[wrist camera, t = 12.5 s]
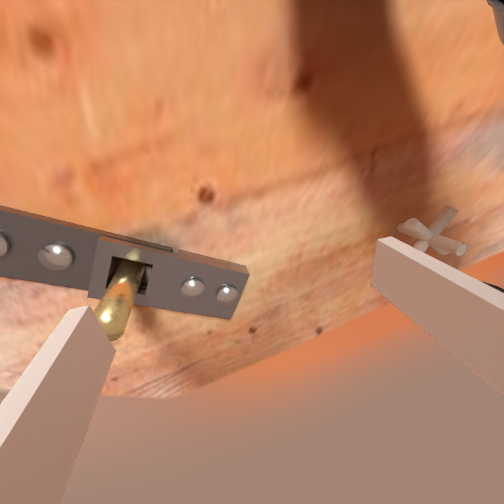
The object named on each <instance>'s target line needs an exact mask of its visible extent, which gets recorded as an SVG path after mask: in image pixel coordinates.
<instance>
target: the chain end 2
mask: <svg viewBox="0 0 504 504" xmlns="http://www.w3.org/2000/svg"><path fill="white" fill-rule="evenodd" d="M114 256H115V257H119V258H124V259H129V260H133V261H138V262H143V263H147V264H152V265H153V267H152V271H151V274H150V278H149V282H148V285H147V289H146V290H143V289H138V291H137V294H136V297H135V300H134V303H133V304H135V305H141V306H148V307H154V308H161V309H168V310H174V311H181V312H188V313H194V314H201V315H207V316H214V317H221V318H227V319H231V317H232V315H233V313H234V310H235V308H236V306H237V303H238V301H239V298H240V296H241V294H242V291H243V289H244V287H245V284H246V282H247V280H248V277H249V275H250V274H249V272H248V270H247V268H246V266H244V265H240V264H236V263H232V262H228V261H224V260H220V259H216V258H211V257H207V256H203V255H199V254H195V253H191V252H187V251H183V250H179V252H178V254H177V253H172V252H168V251H164V250H160V249H156V248H152V247H147V246H143V245H139V244H135V243H131V242H126V241H122V240H118V239H114V238H110V237H106V236H100V238H99V239H98V242H97V247H96V253H95V258H94V264H93V269H92V275H91V280H90V286H89V291H88V298H95V299H102V297H103V295H104V293H105V291H106V290H107V288H108V286H109V283H108V282H109V277H110V272H111V268H112V263H113V258H114Z"/></svg>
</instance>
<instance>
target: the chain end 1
mask: <svg viewBox="0 0 504 504" xmlns="http://www.w3.org/2000/svg"><path fill="white" fill-rule="evenodd" d="M100 236H106V237H110V238H114V239H118V240H122V241H126V242H131V243H135V244H139V245H143V246H147V247H152V248H156V249H160V250H164V251H168V252H171V250H172V248H171V247H167V246H163V245H159V244H155V243H151V242H147V241H142V240H138V239H134V238H130V237H126V236H122V235H118V234H114V233H110V232H106V231H102V230H98V229H94V228H90V227H86V226H82V225H78V224H73V223H69V222H65V221H61V220H57V219H53V218H49V217H45V216H41V215H37V214H33V213H29V212H25V211H21V210H17V209H13V208H9V207H4V206H0V276H4V277H10V278H16V279H22V280H29V281H35V282H41V283H47V284H53V285H60V286H66V287H72V288H78V289H84V290H89V286H90V280H91V275H92V269H93V264H94V258H95V253H96V247H97V242H98V239H99V238H100ZM115 259H116V257H115V256H114V258H113V263H112V268H111V272H110V277H109V282H108V283H109V284H110V282H111V281H112V279H113V278H111V277H112V273H113V268H114V263H115ZM147 285H148V284H144V283H140V285H139V288H138V289H143V290H146V289H147Z"/></svg>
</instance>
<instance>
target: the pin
mask: <svg viewBox="0 0 504 504" xmlns="http://www.w3.org/2000/svg"><path fill="white" fill-rule="evenodd" d="M144 271H145V265H144V263H143V262H138V261H133V260H129V259H124V260H123V261H122V263H121V264H120V266H119V268H118V270H117V272H116V273H115V275H114V277H113V279H112V281H111V282H110V284H109V286H108V288H107V290H106V291H105V293H104V295H103V297H102V299H101V300H100V302H99V304H98V306H97V308H96V309H95V311H94V314H95V316H96V317H97V319H98V321H99V323H100V324H101V326H102V328H103V329H104V331H105V333H106V335H107V336H108V338H109V340H110V342H111V341H115V340H117V339H118V338H120V337H121V336H122V335H123V333H124V330H125V327H126V324H127V321H128V318H129V315H130V312H131V309H132V306H133V303H134V300H135V297H136V294H137V291H138V288H139V285H140V282H141V279H142V276H143V273H144Z"/></svg>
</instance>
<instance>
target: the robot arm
mask: <svg viewBox="0 0 504 504" xmlns="http://www.w3.org/2000/svg"><path fill="white" fill-rule="evenodd" d="M487 2H488V4H489V5H490V6H491V7H493V12H494V17H495V21H496V26H497V30H498V35H499V38H500V40H501V42H502V43H503V45H504V0H487ZM371 286H372V287H373V288H374V289H375V290H377V291H378V292H379V293H380V294H381V295H383V296H384V297H385V298H386V299H387V300H389V301H390V302H391V303H392V304H393V305H394V306H396V307H397V308H398V309H399V310H400V311H402V312H403V313H404V314H405V315H406V316H408V317H409V318H410V319H411V320H412V321H414V322H415V323H416V324H417V325H418V326H419V327H421V328H422V329H423V330H424V331H425V332H427V333H428V334H429V335H430V336H431V337H433V338H434V339H435V340H436V341H437V342H439V343H440V344H441V345H442V346H443V347H445V348H446V349H447V350H448V351H449V352H450V353H452V354H453V355H454V356H455V357H457V358H458V359H459V360H460V361H461V362H462V363H463V364H465V365H466V366H467V367H468V368H470V369H471V370H472V371H473V372H474V373H475V374H477V375H478V376H479V377H480V378H481V379H483V380H484V381H485V382H486V383H487V384H489V385H490V386H491V387H492V388H493V389H494V390H496V391H497V392H498V393H499V394H500V395H502V396H503V397H504V289H502V288H500V287H498V286H494V285H491V284H488V283H485V282H482V281H479V280H476V279H475V278H473V277H471V276H469V275H467V274H465V273H463V272H461V271H459V270H457V269H455V268H453V267H451V266H449V265H447V264H445V263H443V262H441V261H439V260H437V259H435V258H433V257H431V256H429V255H427V254H425V253H423V252H421V251H419V250H417V249H415V248H413V247H411V246H409V245H407V244H405V243H403V242H401V241H399V240H397V239H395V238H393V237H391V236H390V237H386V238H381V239H377V243H376V251H375V258H374V265H373V273H372V280H371ZM115 352H116V350H115V348H114V347H113V345H112V343H111V342H110V340H109V338H108V336H107V335H106V333H105V331H104V329H103V328H102V326H101V324H100V323H99V321H98V319H97V317H96V316H95V314H94V312H93V311H92V309H91V307H90V305H87V306H83V307H78V308H74V309H70V310H68V312H67V313H66V315H65V316H64V317H63V319H62V320H61V321H60V323H59V324H58V326H57V327H56V328H55V330H54V331H53V333H52V334H51V335H50V337H49V338H48V339H47V341H46V342H45V344H44V345H43V346H42V348H41V349H40V350H39V352H38V353H37V355H36V356H35V357H34V359H33V360H32V361H31V363H30V364H29V366H28V367H27V368H26V370H25V371H24V373H23V374H22V375H21V377H20V378H19V379H18V381H17V382H16V384H15V385H14V386H13V388H12V389H11V390H10V392H9V393H8V395H7V396H6V397H5V399H4V400H3V401H2V403H1V404H0V504H60V503H61V500H62V497H63V495H64V492H65V489H66V487H67V483H68V481H69V478H70V476H71V473H72V470H73V467H74V465H75V462H76V459H77V456H78V454H79V451H80V448H81V445H82V443H83V440H84V437H85V435H86V432H87V429H88V426H89V424H90V420H91V418H92V415H93V413H94V410H95V407H96V404H97V402H98V399H99V396H100V393H101V391H102V388H103V385H104V383H105V380H106V377H107V374H108V372H109V369H110V366H111V363H112V361H113V358H114V355H115Z"/></svg>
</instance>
